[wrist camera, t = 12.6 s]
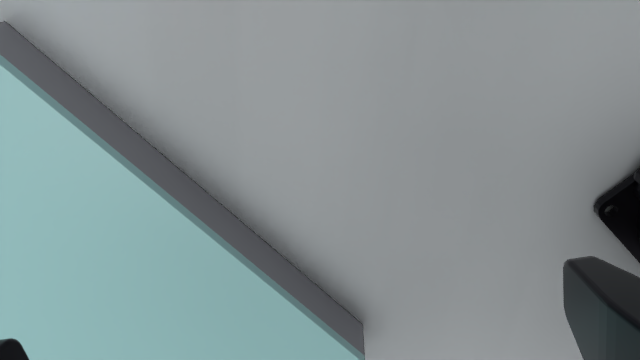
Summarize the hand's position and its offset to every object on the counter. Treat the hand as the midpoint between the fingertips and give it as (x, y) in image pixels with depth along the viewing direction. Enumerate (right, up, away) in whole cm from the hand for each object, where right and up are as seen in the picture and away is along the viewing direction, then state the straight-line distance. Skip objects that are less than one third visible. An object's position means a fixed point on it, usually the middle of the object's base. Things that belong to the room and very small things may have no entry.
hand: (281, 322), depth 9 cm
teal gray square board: (-11, -4, +17) cm, 20 cm away
